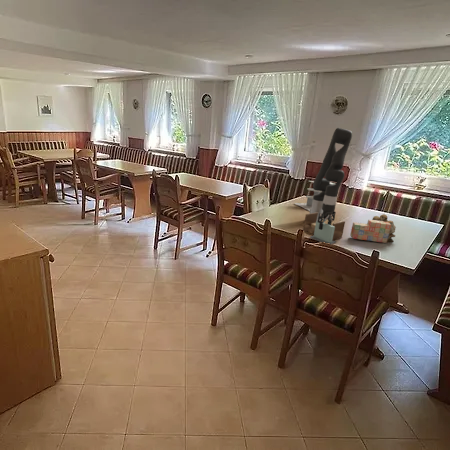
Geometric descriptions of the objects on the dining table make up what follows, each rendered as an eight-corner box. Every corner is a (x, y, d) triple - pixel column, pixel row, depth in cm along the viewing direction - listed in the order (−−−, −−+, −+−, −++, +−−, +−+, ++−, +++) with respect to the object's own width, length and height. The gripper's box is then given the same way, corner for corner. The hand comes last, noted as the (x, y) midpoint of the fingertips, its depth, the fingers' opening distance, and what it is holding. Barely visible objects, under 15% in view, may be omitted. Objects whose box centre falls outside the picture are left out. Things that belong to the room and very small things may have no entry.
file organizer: (343, 210, 288) (348, 186, 281) (309, 211, 275) (314, 185, 269) (325, 203, 310) (329, 180, 304) (293, 203, 298) (297, 179, 291)
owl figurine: (363, 238, 215) (369, 213, 210) (364, 234, 226) (370, 210, 220) (393, 245, 208) (400, 219, 203) (393, 240, 218) (400, 215, 213)
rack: (303, 229, 222) (305, 214, 219) (313, 227, 229) (316, 212, 226) (331, 240, 206) (334, 223, 203) (341, 237, 213) (345, 221, 210)
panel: (313, 236, 209) (316, 221, 206) (315, 235, 210) (318, 220, 207) (329, 242, 200) (332, 227, 197) (331, 242, 201) (335, 226, 198)
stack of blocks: (352, 238, 210) (356, 220, 206) (349, 235, 216) (353, 217, 212) (386, 243, 208) (391, 224, 204) (383, 239, 214) (388, 221, 210)
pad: (309, 237, 208) (309, 236, 208) (316, 235, 213) (317, 234, 213) (328, 244, 198) (328, 244, 197) (335, 242, 203) (335, 241, 202)
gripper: (330, 200, 205) (326, 225, 210) (317, 202, 196) (312, 228, 201) (341, 203, 200) (336, 228, 205) (327, 205, 191) (322, 231, 196)
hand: (324, 228), depth 203 cm, fingers open, 8 cm apart
